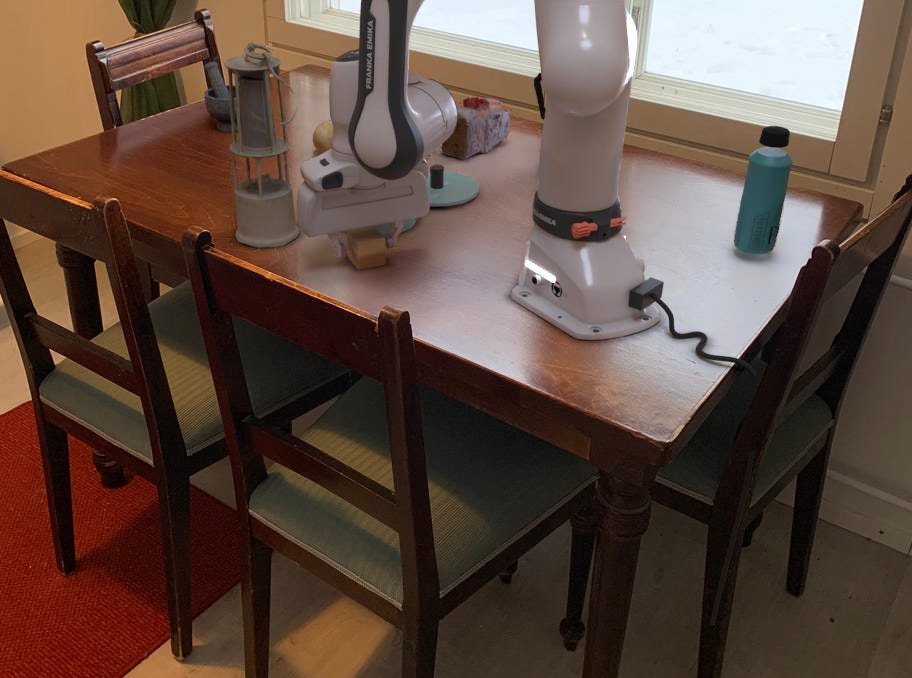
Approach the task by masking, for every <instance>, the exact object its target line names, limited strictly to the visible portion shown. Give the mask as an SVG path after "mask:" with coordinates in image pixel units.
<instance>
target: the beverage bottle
mask: <svg viewBox="0 0 912 678" xmlns="http://www.w3.org/2000/svg"><path fill="white" fill-rule="evenodd" d="M790 135H791V131H790V130H789V129H788V128H786V127H783V126H778V125H768V126H765V127H763V128H762V130H761V133H760V136H759V140H758V142H759V145H762V146H763V147H760V148H758V149H756V150H755V151H753V152H752V153H750V155H749V156H748V162H747V167H746V174H745V178H744V184H743V189H742V193H741V194H740V196H741V197H740V198H741V199H740V202H739V208H738V213H737V215H736V217H737V218H736V219H737V220H736V222H735V229H734V233H733V234H734V235H733V245H734V247H735V248H736V249H737V250H739V251H741V252H743V253H747V254H751V255H765V254H769V253H771V252H773V250H774V249H775V247H776V245H777V241H778V236H779V232H780V228H781V223H782V218H783V212H784V207H785V205H784V204H785V200H786V196H787V194H788V193H787V191H788V185H789V179H790V173H791V169H792V165H793V158H792V157H791V155H790V154H789V153H788V152H787V151H786V150H785V149H782V148H787V147H788V146H789V143H790Z"/></svg>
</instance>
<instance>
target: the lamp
mask: <svg viewBox="0 0 912 678" xmlns="http://www.w3.org/2000/svg"><path fill="white" fill-rule="evenodd" d="M256 49H259V50H263V51H264V52H262V53H259V52H255V50H256ZM243 51H244V53H243V54H240V55H237V56H233V57H230V58H228V59H226V60H225V61H223V65H224V67H225V68H226V69H227V75H228V76H227V77H228V85H229V91H230V111H231V123H232V131H231V138H232V143H231V144H230V145H229V151H230V153H231V161H232V163H231V164H232V174H233V176H232V177H233V183H234V190H233V193H234V203H235V213H236V223H237V225H236V226H237V228H236V231H235V234H234V235H235V239H236V240H237V241H238V242H239V243H241V244H245V245H248V246H250V247H255V248H259V249H260V248H261V249H263V248H278V247H283V246H285V245H287V244H288V243H290V242H292V241H293V240H294V239H296V238H298V236H299V235H300V233H301V229H300V228H299V226H298V224H297V221H296V214H295V213H296V212H295V203H294V192H293V191H294V190H293V185H292V184H291V183H290V173H289V172H290V171H289V164H288V157H287V152H288V151H289V149H290V147H291V143H290V142H289V138H288V133H287V130H286V129H287V125H288V124H290V122H292V121H293V120H294V119H295V117H296V114H297V110H298V109H297V108H298V107H296V108H295V111H294V113H293V115H292V116H291V117H290V118H288V119H287V118H286V113H285V112H286V111H285V103H284V101H283V95H282V88H281V87H282V85H281V83H282V84H284V85H286V87H287V88H288V89H289V90H290V92H291V93H292V95H295V92H294V89H292V87H290V85H288V83H287V82H286V81H285V80H284V79H283V78H282V77H281V76H280V74H281V69H280V66H281V64H282V60H281V58H279V57H277V56H274V55H272V49H271V48H269V47H268V46H265V45H263V44H260V43H254V41H253V42H252V41H250V42H248V43H247V45H246V46H245V47H244V49H243ZM233 75H234V76H233ZM270 75H272V76H273V77H274V78H275V79H276V82H277V89H278V97H279V98H278V99H279V108H280V117H281V122H280V123H278V126H282V134H283V138H282V137H279V136H276V127H275V122H274V120H275V119H274V113H273V104H272V95H271V84H270V83H271V76H270ZM233 79H234V83H235V84H234V83H233ZM233 85H235V87H236V107H237V125H238V131H236V128H235V114H234V97H233ZM239 97H240V104H239ZM240 109H241V119H240ZM241 124H242V130H241ZM237 133H238V139H237ZM282 154H283V161H284V167H283V168H284V177H285V179H283V172H282V170H283V169H282V162H281V155H282ZM236 156H238V157H242V158H245V166H246V176H247V178H246V180H243V181H240V182H239V183H238V181H239V180H238V172H237V160H236ZM272 157H276V160H277V170H278V178H277V177H272V176H271V175H270V173H269V172H268V173H265V174H261V167H260V161H261V160H262V159H265V158H266V159H267V158H268V159H269V158H272ZM250 158H251V159H252V160H255V167H256V176H257V177H255V178H251V164H250Z"/></svg>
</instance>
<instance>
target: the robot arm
mask: <svg viewBox="0 0 912 678" xmlns="http://www.w3.org/2000/svg"><path fill="white" fill-rule="evenodd" d="M424 2H425V0H360V9H359V35H358V48H356V49H351V50H349V51H346V52H344V53H342V54H340V55H339V56H337V57H336V58H335V59H334V61H333V62H332V64H331V68H330V73H329V86H328V101H329V102H328V103H329V105H328V106H329V118H330V120H331V121H332V124H333V137H332V141H331V146H332V148H331V149H330V150H328V151H326V152H324V153H323V154H318V155H317V156H315V157H312V158H311V159H308V160H307V161H305V162H303V163H302V164H301V165H300V168H299V169H300V175H301V178H302V179H303V181H302V182H301V183H300V185H299V187H298V190H297V194H296V224H297V226H298V228H299V230H300V232H302V233H304V235H305V236H306V237H308V238H315V237H318V236H324V235H326V237H328V239H329V240H330V242H331V244H333V253H334V255H335V257H336V258H337V259H341V258H347V257H348V245H346V244H345V243H344V242H343V241H340V242H339V241H338V240H337V239H339V238H340V233H341V232H345V231H347V230H353V229H358V228H364V227H369V226H375V225H380V224H386V223H392V226H391V228H390V230H389V233H388V234H384V235H383V236H384V237H385V249H387V250H388V249H394V248H397V244H398V242H397V240H398V239H397V238H398V237H399V235H400V234H401V233H400V231H401V230H402V228H403V220H408V219H414V218H416V219H418V218H423V217H426V216H427V214H428V213H429V211H430V208H431V206H430V205H429V193H428V187H427V182H426V181H427V179H428V171H429V164H428V162H427V160H426V159H425V158H427V157H426V156H428V155H429V154H430V153H431V154H432V153H433V152H434V151H436V149H438V148H439V147H440V146H442V143H444V142H445V141H446V140H447V139H448V138H449V137H450V136H451V135H452V134H453V132H454V131H455V128H456V125H457V120H458V112H457V108H458V106H457V104H456V101H455V99H454V97H453V94H452V93H451V92H450V90H449V89H448V88H447V87H446V86H445V85H444V84H442V83H441V82H439V81H438V80H435V79H433V78H426V77H424V76H421V75H419V74H417V73H415V72H413V71H411V70H409V65H410V64H409V62H410V43H411V41H410V40H411V34H412V33H411V32H412V28H413V25H414V21H415V19H416V17H417V15H418V12H419V11H420V9H421V7H422V6H423V3H424ZM533 2H534V17H535V27H536V39H537V40H536V41H537V49H538V50H537V51H538V58H539V65H540V66H539V67H540V73H541V77H542V80H541V84H542V88H543V90H544V93H545V95H546V103H545V104H546V105H545V109H546V111H545V118H544V120H543V126H542V132H541V138H540V151H539V164H538V166H539V167H538V180H537V190H536V191H535V192H534V196H533V201H532V221H533V222H534V223H533V225H532V228H531V231H530V233H529V235H528V236H527V239H526V240H525V242H524V244H523V245H524V246H523V250H522V257H521V263H520V269H519V276H518V282H517V284H516V285H515V286H514V287H513V288H512V289H511V293H510V299H511V300H512V301H514V302H515V303H517V304H519V305H521V306H522V307H524V308H526V309H527V310H529V311H530V312H531V313H533V314H535V315H537V316H539V317H540V318H542V319H543V320H545V321H547V322H548V323H550V324H551V325H553V326H554V327H556V328H558V329H559V330H561V331H562V332H564V333H566V334H567V335H569V336H570V337H572V338H573V339H576V340H583V341H584V340H585V341H598V340H609V339H614V338H620V337H621V338H622V337H624V336H625V337H626V336H629V335H632V334H636V333H640V332H643V331H645V330H647V329H649V328H651V327H653V326H655V325H656V324H657V323H658V322H659V321H660V320H661V313H660V311H659V310H658V308H657V307H656V306H655V305H654V303H656V304H657V305H659V307H660V308H661V309H663V311H664V312H665V314H666V315H667V318H668V330H669V333H670V334H671V335H672V336H673V337H674V338H676V339H679V340H680V339H681V340H682V339H689V338H695V337H699V338H701V340H700V341H699V342H697V344H696V346H695V352H696V354H697V355H698V356H699V357H701V358H703V359H706V360H711V361H716V362H726V363H732V364H736V365H739V366H741V367H743V368H744V369H745V370H746V371H747V372H748V373H749V375H750V376H752V377H756V378H757V377H758V373H757V372H756V370H755V369H754V368H753V366H752V365H750V364H749V363H748V362H747V361H745V360H744V359H741V358H738V357H733V356H728V355H719V354H717V355H716V354H711V353H707V352H705V351H704V350H702V348H703V347H704V346H705V344H707V342H708V336H707V334H706V333H704V332H703V331H700V330H699V331H698V330H697V331H689V332H683V333H680V332H677V330H676V329H675V317H674V314H673V312H672V310H671V309H670V307H669V306H668V305H667V304H666V302H664V301H663V300H662V295H663V290H664V285H665V281H662V280H660V279H657V278H655V277H648V278H647V279H646V277H645V274H644V273H645V270H646V266H645V261H644V259H642V258H636V256H635V254H634V252H633V251H632V249H631V246H630V245H629V242H628V240H627V239H626V235H624V233H623V231H622V229H623V226H624V225H627V223H626V222H623V221H624V220H627V216H622V206H621V201H620V197H619V195H618V193H619V185H620V184H619V183H620V178H621V168H622V162H623V161H622V159H623V153H624V143H625V135H626V129H627V121H628V113H629V106H630V98H631V92H632V91H631V90H632V85H633V75H634V68H635V61H636V53H637V45H638V32H637V28H636V24H635V21H634V20H633V17H632V16H631V14H630V13H629V12H628V10H627V8H626V0H533ZM755 454H756V449H754V450H750V451H749V452H748V458H747V464H746V469H745V475H744V479H743V485H742V490H741V493H740V494H741V495H740V499H739V503H738V508H737V512H736V515H735V519H734V524H733V528H732V532H731V535H730V539H729V542H728V547H727V551H726V554H725V558H724V562H723V565H722V566H723V567H722V570H721V574H720V579H719V582H718V587H717V590H716V595H715V599H714V604H713V607H712V612H711V617H710V622H709V625H710V626H713V627H714V626H715V625H716V621H717V616H718V612H719V608H720V604H721V603H720V602H721V599H722V596H723V595H722V594H723V590H724V586H725V583H726V579H727V574H728V570H729V567H730V563H731V559H732V556H733V552H734V548H735V544H736V541H737V536H738V532H739V529H740V524H741V521H742V517H743V513H744V509H745V505H746V500H747V495H748V491H749V486H750V482H751V476H752V471H753V466H754V461H755Z"/></svg>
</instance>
